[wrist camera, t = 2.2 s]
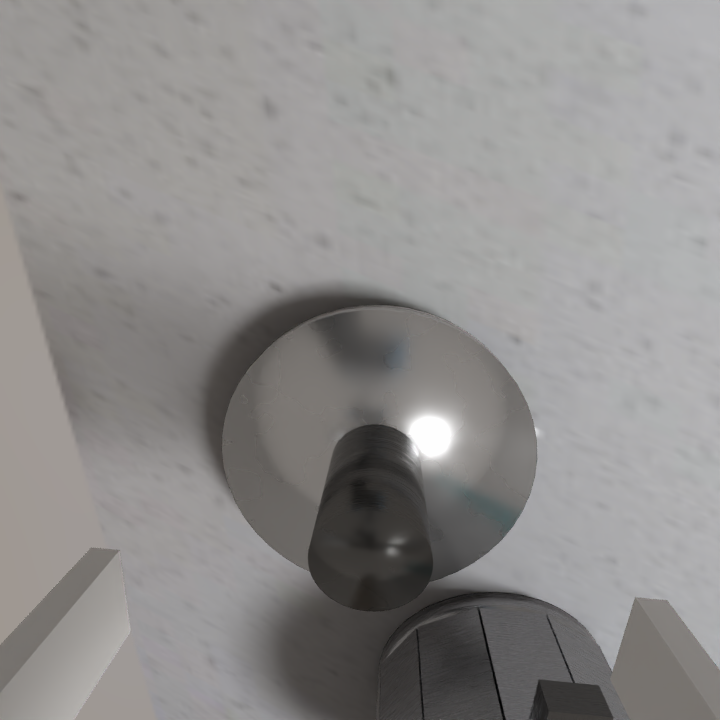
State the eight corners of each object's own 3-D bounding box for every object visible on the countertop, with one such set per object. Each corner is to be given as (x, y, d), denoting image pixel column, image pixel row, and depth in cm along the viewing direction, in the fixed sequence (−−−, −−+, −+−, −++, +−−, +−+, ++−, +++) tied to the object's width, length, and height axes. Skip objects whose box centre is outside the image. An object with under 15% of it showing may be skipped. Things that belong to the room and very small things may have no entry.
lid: (233, 290, 18) (130, 337, 11) (544, 308, 17) (653, 371, 10) (245, 540, 22) (175, 694, 15) (497, 562, 21) (552, 734, 14)
